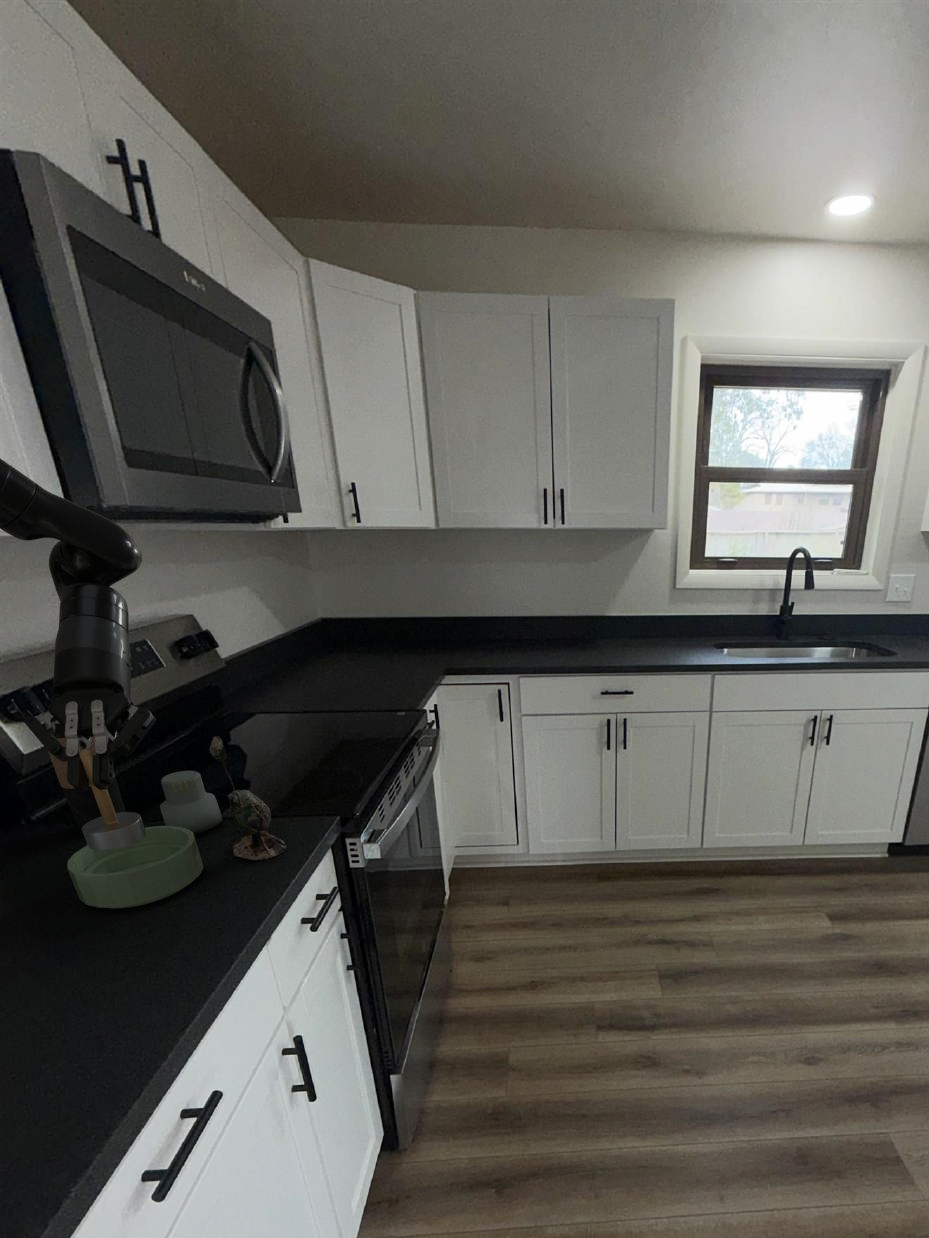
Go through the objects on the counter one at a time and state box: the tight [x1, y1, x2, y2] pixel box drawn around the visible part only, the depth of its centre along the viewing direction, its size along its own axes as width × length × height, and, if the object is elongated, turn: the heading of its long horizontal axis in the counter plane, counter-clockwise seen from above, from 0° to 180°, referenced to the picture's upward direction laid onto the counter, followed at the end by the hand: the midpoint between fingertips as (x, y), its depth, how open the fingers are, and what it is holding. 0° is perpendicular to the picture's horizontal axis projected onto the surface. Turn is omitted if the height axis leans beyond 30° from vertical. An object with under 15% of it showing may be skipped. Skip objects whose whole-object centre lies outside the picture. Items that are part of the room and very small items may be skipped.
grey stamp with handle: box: [79, 749, 146, 851], centre depth 79 cm, size 6×6×12 cm
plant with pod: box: [209, 735, 288, 862], centre depth 103 cm, size 8×11×20 cm
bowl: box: [66, 825, 204, 909], centre depth 97 cm, size 16×16×6 cm
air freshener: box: [159, 770, 223, 835], centre depth 113 cm, size 11×8×10 cm
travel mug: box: [47, 721, 127, 833], centre depth 113 cm, size 8×8×20 cm
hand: (90, 787), depth 76 cm, fingers closed on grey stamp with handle, 1 cm apart
